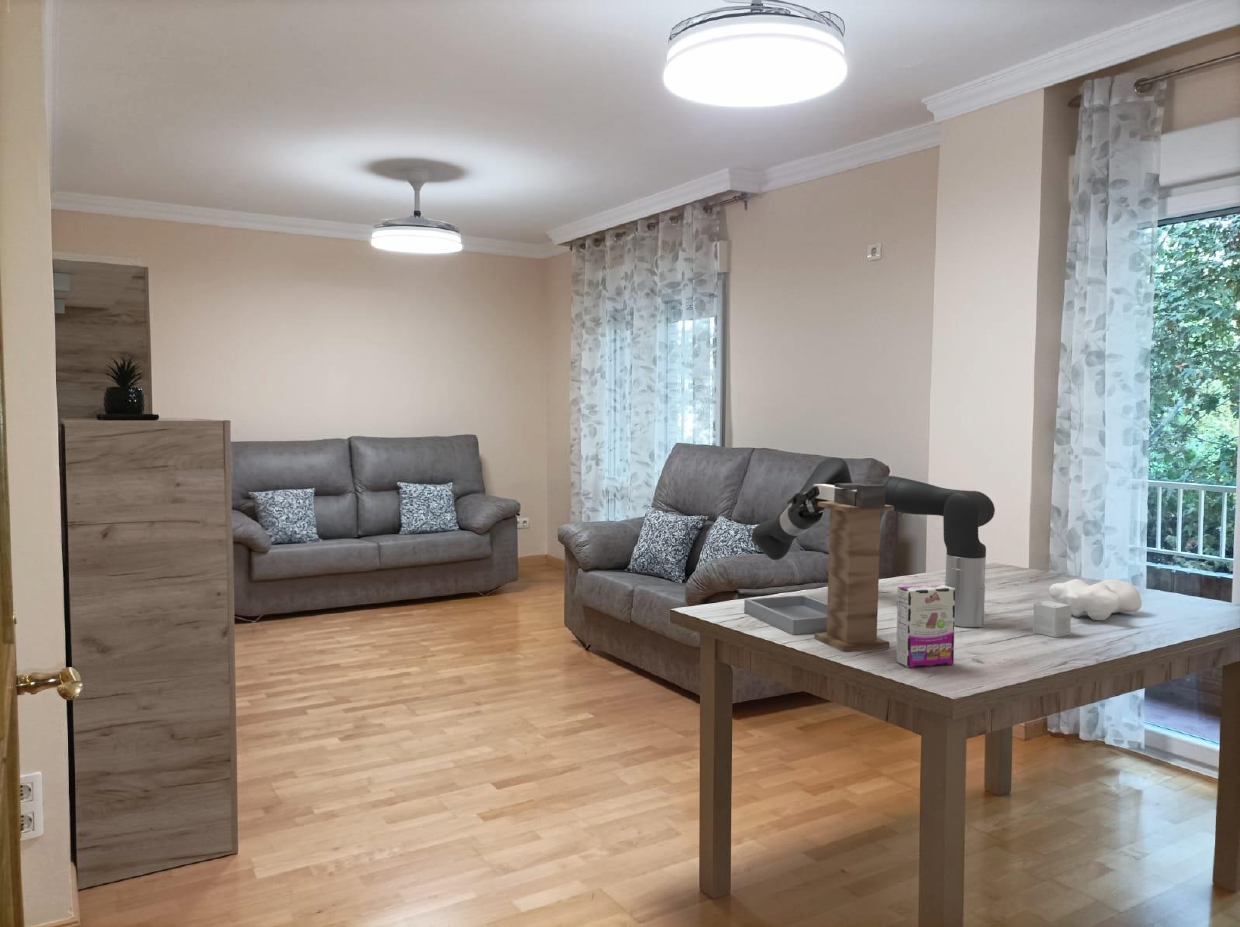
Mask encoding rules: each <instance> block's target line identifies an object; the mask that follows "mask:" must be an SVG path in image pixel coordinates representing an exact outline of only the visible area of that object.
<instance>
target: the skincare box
mask: <svg viewBox="0 0 1240 927" xmlns="http://www.w3.org/2000/svg"><path fill="white" fill-rule="evenodd" d="M1071 621H1072V614H1071V605H1067V604H1062V603H1059V602H1058V601H1057V602H1056V601H1053V600H1044V601H1039V602H1034V603H1033V624H1032V625H1033V630H1032V631H1033V633H1035V634H1039V635H1044V636H1048V637H1051V638H1061V637H1066V636H1070V635H1071V626H1072V625H1071V623H1072V622H1071Z"/></svg>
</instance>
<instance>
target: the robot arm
mask: <svg viewBox="0 0 1240 927" xmlns="http://www.w3.org/2000/svg"><path fill="white" fill-rule="evenodd" d="M849 469H850V468H849V465H848V463H847V461H846V460H844V459H843V458H841V457H828V458H826V459H824V460H822V461H821V462H820V463H818V465H817V466H816V467H815V469H813V471H812V473H811V474H810V476H809V477H808V478H807V480H806V481H805V483H804V484H803V486H802V487H801V489H800V491H799V492H797V493H796V494H794V495H792V497H791V498H790V499H789V500H788V501H787V506H786V507H785V508H783V509H782V510H781V511H780V513H778V514H777V516H776V517H775V518H773V519H769V520H765V521H763V522H761V523H759V524H758V525H756V526H755V527H754V528H753V530H752V532H751V539H752V541H753V542H754V544H756V546H757V547H759V549H761V551H762V552H763V553H764V554H765V555H766V556H767V557H768V558H769V559H770V560H772V561H779V560H782V559H783V558H784V557H785V556H786V555H787V554H788V552H789V550H790V549H791V547H792V544H793V542H794V540H795V539H796V538H798V537H799V536H800V535H802V534H804V533H806V532H807V531H808V530H810V529H811V528H812V527H813V526H815V525H816V524H817V523H818V522H820V521H821V519H822V517H823V513H824V512H826V511H828V510H830V508H825V507H820V506H818V502H829V500H824V499H819V498H816V497H817V496H818V495H819V494H820V492H819V488H818V486H814V484H828V485H835V484H837V483H854V482H853V480H852V476H851V472H850V470H849ZM874 484H880V485H886V496H885V505H890V506H894V511H893V512H896V513H900V514H905V515H906V514H909V515H919V516H920V515H922V516H940V517H943V524H942V525H943V543H944V545H945V548H946V558H945V579H944V580H945V583H944V585H946V586H949V587H952V588H955V617H954V627H962V628H983V627H984V622H985V620H984V619H985V602H986V601H985V596H986V585H985V584H986V561H987V559H986V558H987V556H986V555H987V547H986V545H985V544H984V543H983V542H981V541H980V538H979V528H981V527H983V526H986V525H987V524H988V523H989V522H990V521H992V520H993V518H994V516H995V513H996V508H995V504H994V503H993V501H992V499H991V498H990V497H989V496H988V495H987V494H985V493H983V492H981V491H978V490H963V489H953V488H945V487H940V486H937V485H932V484H931V483H930V484H929V483H926V482H921V481H917V480H915V479H914V480H913V479H909V478H905V477H901V476H899V477H898V476H895V475H887V476H883V477H881V478H879V479H876V480H875V481H873V482H871V483H869V484H868V485H874Z"/></svg>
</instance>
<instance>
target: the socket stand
mask: <svg viewBox="0 0 1240 927" xmlns="http://www.w3.org/2000/svg"><path fill="white" fill-rule="evenodd" d="M835 487H838V488H837V489H835V492H834V501H830V500H828V502H818V506H820V507H825V508H830V509H829V534H828V536H829V537H828V565H827V566H828V570H827V572H828V573H827V574H828V575H827V602H826V603H827V632H819V633H813V637H814V640H817V641H819V642H821V643H824V644H826V645H828V646H831V647H833V648H834V649H836V650H839V651H840V652H841V651H842V652H846V653H847V652H854V651H855V652H856V651H865V650H866V651H867V650H875V649H877V650H878V649H886V648H890V644H891V643H890V641H888V640H886V639H883V638H880V637H878V613H879V612H878V610H879V609H878V608H879V607H878V606H879V605H878V604H879V603H878V602H879V581H880V580H879V579H880V578H879V576H880V545H881V519H882V518H881V517H882V516H881V514H882V512H888V511H890V512H895V511H894V506H890V505H885V496H886V485H880V484H874V485H869V484H866V483H859V482H858V483H857V482H853V483H837V484H835ZM839 488H844V489H839ZM851 488H854V489H857V491H851V490H845V489H851Z"/></svg>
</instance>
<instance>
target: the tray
mask: <svg viewBox="0 0 1240 927" xmlns="http://www.w3.org/2000/svg"><path fill="white" fill-rule="evenodd" d="M743 603H744V604H743V605H744V606H743V608H744V609H743V613H744V614H747V615H749V616H751V617H753V618H756V619H758V620H760V621H762V622H763V623H767V624H769V625H771V626H773V627H775V628H777V629H779V630H782V631H784V632H786V633H788V634H790V635H793V636H797V635H805V634H806V635H807V634H814V633H824V632H827V602H824V601H822V600H818V599H815V598H814V597H811V596H807V595H805V594H799V595H798V594H797V595H784V596H771V597H770V596H769V597H758V598H757V597H756V598H745V599H744V602H743Z"/></svg>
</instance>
